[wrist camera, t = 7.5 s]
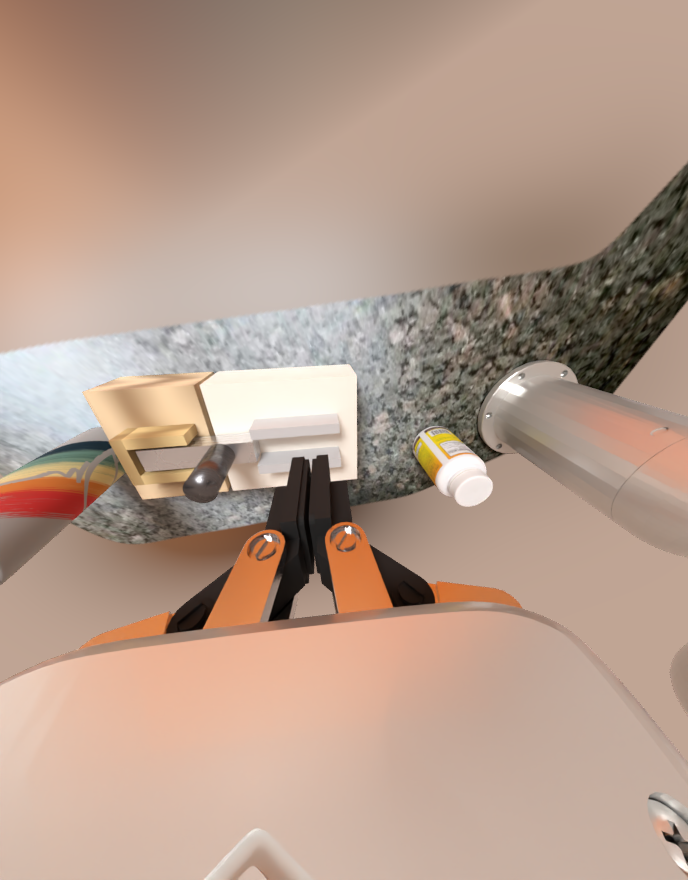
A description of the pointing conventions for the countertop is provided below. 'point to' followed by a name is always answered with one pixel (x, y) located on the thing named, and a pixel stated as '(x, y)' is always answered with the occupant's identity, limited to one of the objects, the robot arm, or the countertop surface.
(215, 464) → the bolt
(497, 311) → the countertop surface
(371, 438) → the countertop surface
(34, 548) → the lotion bottle
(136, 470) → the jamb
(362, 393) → the countertop surface
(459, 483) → the supplement bottle
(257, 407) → the white slotted base
